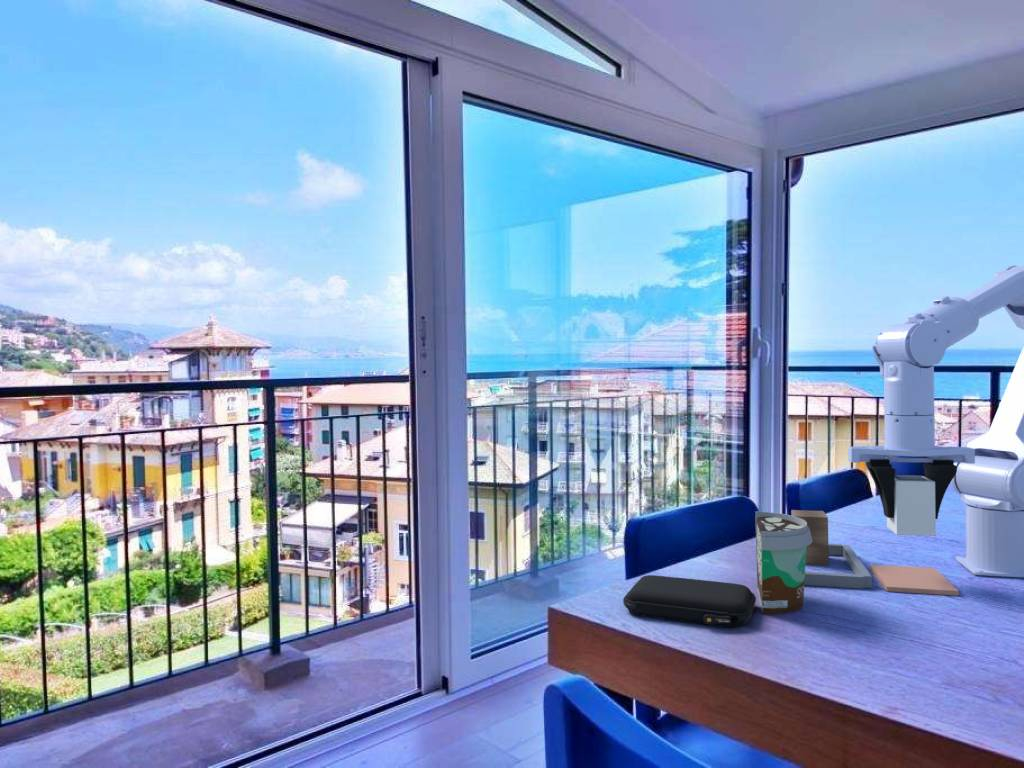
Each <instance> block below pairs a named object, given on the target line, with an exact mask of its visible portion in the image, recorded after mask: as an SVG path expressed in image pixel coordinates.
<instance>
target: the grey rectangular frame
mask: <svg viewBox="0 0 1024 768" xmlns="http://www.w3.org/2000/svg"><path fill="white" fill-rule="evenodd" d="M828 550H829V556H841V557H843V558H844V559H845V562H846V563H847V565H848V566H849V567H850V570H851V571H852V573H851V574H850V573H835V572H817V571H816V572H813V571H805V581H804V586H812V587H826V588H827V587H828V588H845V589H862V590H863V589H864V590H865V588H867V589H872V588H873V577H872V575H871V574H870V572H869V571H868V569H867V567H865V565H864V564H863V562H862V561H861V560H860V558H859V557H858V556H857V554H856V552H855V551H854V550H853V549H852V548H851V545H849V544H842V543H829V542H828ZM853 573H854V574H853Z"/></svg>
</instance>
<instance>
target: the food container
mask: <svg viewBox="0 0 1024 768" xmlns="http://www.w3.org/2000/svg"><path fill="white" fill-rule="evenodd" d="M754 519H755V550H756V586H757V587H756V590H757V593H758V594H757V595H758V600H759V604H760V609H761V614H762V615H787V614H792V613H796V612H798V611H800V610H802V608H803V606H804V597H805V595H804V594H805V585H804V581H805V572H806V565H807V564H806V547H807V546H808V545H810V544H811V543H812V537H811V532H810V528H809V527H808V526H807V522H806V521H805V520H803V519H801V518H798V517H795V516H791V515H790V514H785V513H780V512H779V513H778V512H771V511H770V512H769V511H755V518H754Z"/></svg>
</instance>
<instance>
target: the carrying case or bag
mask: <svg viewBox="0 0 1024 768" xmlns="http://www.w3.org/2000/svg"><path fill="white" fill-rule="evenodd" d="M622 601H623V602H622V604H623V606H624V607H625V608H626V609H628V612H630V613H631V615H636V616H641V617H646V618H647V617H648V618H654V617H655V619H662V618H663V620H671V621H678V622H685V623H686V622H687V623H695V624H701V625H702V624H703V625H710V626H711V625H712V626H719V627H726V628H741V627H743V626H745V624H747V622H749V621H750V620H751V618H752V615H753V613H754V612H753V611H754V609H755V605H756V601H757V598H756V595H755V593H753V592H752V591H751V589H750V588H749V587H748V586H746V585H744V584H740V583H733V582H725V581H724V582H722V581H715V580H714V581H713V580H705V579H695V578H694V579H693V578H686V577H684V578H683V577H676V576H665V575H664V576H662V575H653V574H651V575H649V574H648V575H647V574H646V575H644V576H642V577H640V579H639V580H638V581H637V582H636V583H635V584H634V585H633V586H632V587H631V589H630V590H629V591H628V592H627V593H626V594H625V595H624V597H623V600H622Z"/></svg>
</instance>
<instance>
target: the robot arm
mask: <svg viewBox="0 0 1024 768" xmlns="http://www.w3.org/2000/svg"><path fill="white" fill-rule="evenodd" d="M932 303H933V304H932V305H931V306H930V307H929V308H927V309H925V310H923V311H921V312H915V313H912V314H910V315H908V317H907V320H906V321H905V322H904V323H901V324H900V323H899V324H892V325H890V324H889V325H888V326H886V327H884V328H883V329H882V330H881V332H879V334H878V335H877V337H876V340H875V342H874V345H872V347H871V348H872V355H873V357H874V358H875V361H876V362H877V363H878V365H879V375H880V376H881V378H882V380H883V402H884V403H883V405H884V406H883V407H884V409H883V410H884V412H883V413H884V415H883V416H884V445H870V446H869V445H867V446H848V447H847V450H848V451H847V452H848V453H847V455H848V457H847V458H848V462H850V463H852V464H853V463H858V464H860V463H865V466H866V469H867V471H868V473H869V474H870V476H871V478H872V480H873V482H874V484H875V487H876V489H877V491H878V492H877V493H878V494H879V495H878V496H879V497H880V502H881V505H882V509H883V515H884V516H885V517H886V518H887V517H888V518H894V495H893V492H894V478H895V475H896V469H895V468H894V467H893V465H892V464H891V463H923V464H922V465H923V472H924V477H926V478H928V479H930V480H932V481H934V482H935V520H938V517H939V512H940V508H941V505H942V501H943V500H944V496H945V494H946V492H947V490H948V488H949V485H950V484H951V486H952V488H953V490H954V491H955V492H956V493H957V494H958V495H960V502H961V503H965V544H966V545H965V549H966V550H965V552H966V553H965V554H966V556H962V555H961V556H960V555H959V556H957V555H956V556H955V560H956V561H958V562H959V563H960V564H961V565H962V566H964V567H965V568H966V569H967V570H968V571H970V572H971V573H972V574H973V575H975V576H990V577H994V576H995V577H1007V578H1009V577H1011V578H1024V345H1023V347H1022V348H1021V350H1020V351H1021V352H1020V353H1019V356H1018V359H1017V361H1016V363H1015V365H1014V368H1013V370H1012V373H1011V375H1010V378H1009V381H1008V383H1007V386H1006V387H1005V390H1004V392H1003V395H1002V397H1001V400H1000V402H999V405H998V408H997V410H996V413H995V415H994V417H993V419H992V422H991V424H990V427H989V430H988V431H987V432H986V433H984V434H982V435H980V436H978V437H977V438H974V439H973V440H971V441H969V442H968V443H967V445H966V446H943V445H942V446H940V445H936V433H935V431H936V430H935V428H936V427H935V426H936V425H935V365H938V364H940V362H941V361H942V360H943V358H944V357H945V353H946V351H947V349H949V348H950V347H951V346H954V345H956V344H957V343H958V342H960V341H961V340H963V339H965V338H967V337H969V336H970V335H972V334H974V332H976V331H977V329H978V327H979V324H980V320H981V319H982V318H984V317H986V316H988V315H991V314H992V313H993V312H996V311H998V310H1000V309H1001V308H1004V309H1005V311H1006V312H1007V314H1008V315H1009V317H1010V318H1011V320H1012V321H1013V323H1014V325H1015V326H1016V327H1017V328H1019V329H1021V330H1022V331H1024V264H1023V265H1011V266H1007V267H1005V268H1004V269H1002V270H1000V271H997V272H995V273H994V274H993V277H992V278H990V279H988V280H987V281H985V283H983V284H982V285H980V286H979V287H977V288H976V289H974V290H973V291H971V292H970V293H968V294H967V295H966V296H964V297H962V298H961V297H958V296H939V297H936V298H935V299H933V300H932Z"/></svg>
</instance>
